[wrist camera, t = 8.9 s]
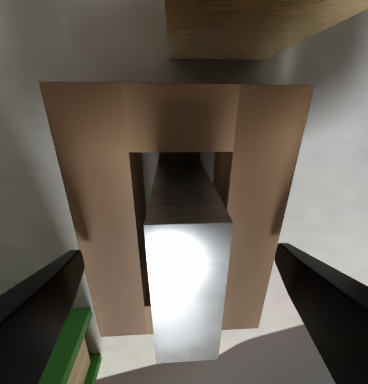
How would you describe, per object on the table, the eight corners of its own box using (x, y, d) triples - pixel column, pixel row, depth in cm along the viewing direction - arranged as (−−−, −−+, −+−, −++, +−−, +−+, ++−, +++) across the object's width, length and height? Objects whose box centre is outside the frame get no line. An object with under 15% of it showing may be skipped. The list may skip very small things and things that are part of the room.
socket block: (267, 91, 11) (314, 85, 8) (239, 279, 17) (258, 328, 13) (84, 89, 11) (38, 81, 7) (116, 284, 16) (100, 336, 13)
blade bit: (200, 160, 12) (233, 222, 6) (197, 248, 15) (217, 359, 8) (158, 160, 12) (143, 225, 6) (162, 249, 15) (156, 363, 8)
